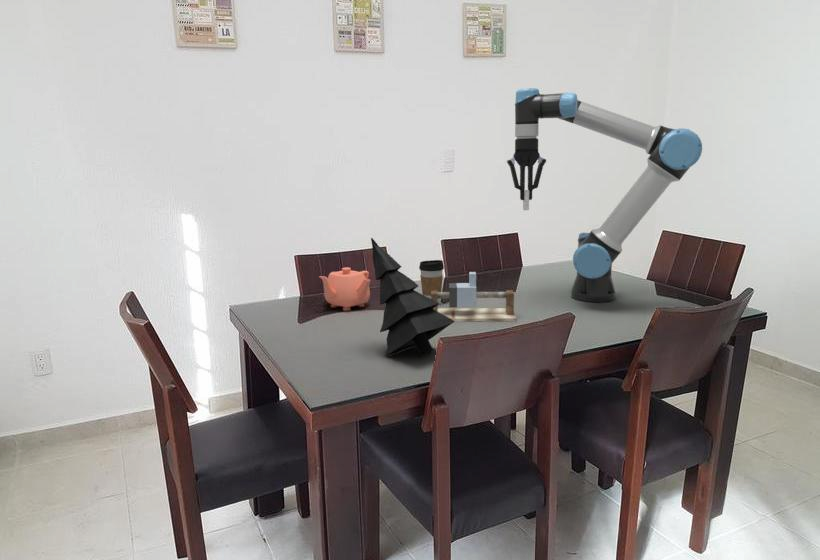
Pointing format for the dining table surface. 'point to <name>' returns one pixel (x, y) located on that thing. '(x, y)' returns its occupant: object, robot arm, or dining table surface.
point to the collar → (452, 295)
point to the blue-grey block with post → (467, 292)
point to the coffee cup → (431, 277)
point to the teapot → (347, 288)
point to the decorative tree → (405, 308)
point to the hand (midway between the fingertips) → (526, 209)
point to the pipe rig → (479, 313)
